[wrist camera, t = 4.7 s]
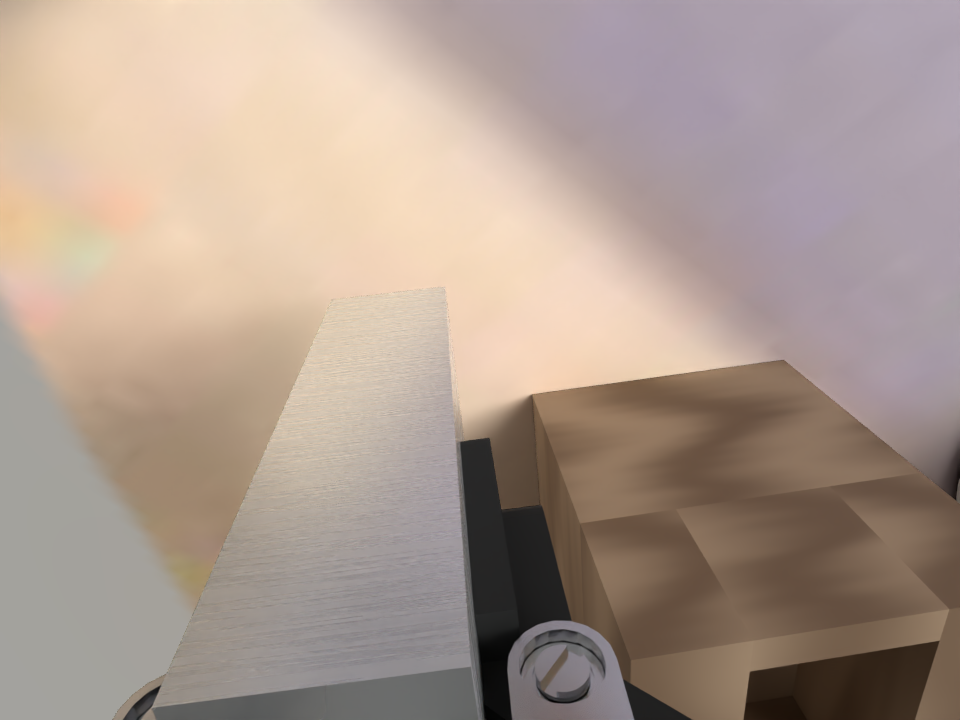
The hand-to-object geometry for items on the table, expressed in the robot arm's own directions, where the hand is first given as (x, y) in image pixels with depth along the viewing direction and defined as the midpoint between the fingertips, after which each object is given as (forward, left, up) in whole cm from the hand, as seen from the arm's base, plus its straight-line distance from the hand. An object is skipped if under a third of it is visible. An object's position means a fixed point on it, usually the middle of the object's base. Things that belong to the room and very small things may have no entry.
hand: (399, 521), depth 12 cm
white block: (0, 0, -4) cm, 4 cm away
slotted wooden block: (-9, +10, -12) cm, 18 cm away
